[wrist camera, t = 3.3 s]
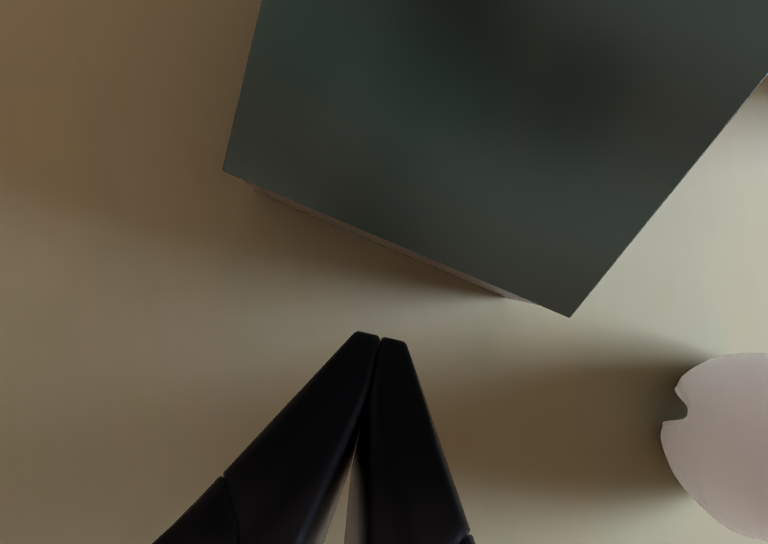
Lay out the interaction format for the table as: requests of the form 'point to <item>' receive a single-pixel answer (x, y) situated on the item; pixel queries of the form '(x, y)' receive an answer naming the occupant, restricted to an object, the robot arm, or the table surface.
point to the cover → (494, 122)
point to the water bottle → (724, 440)
